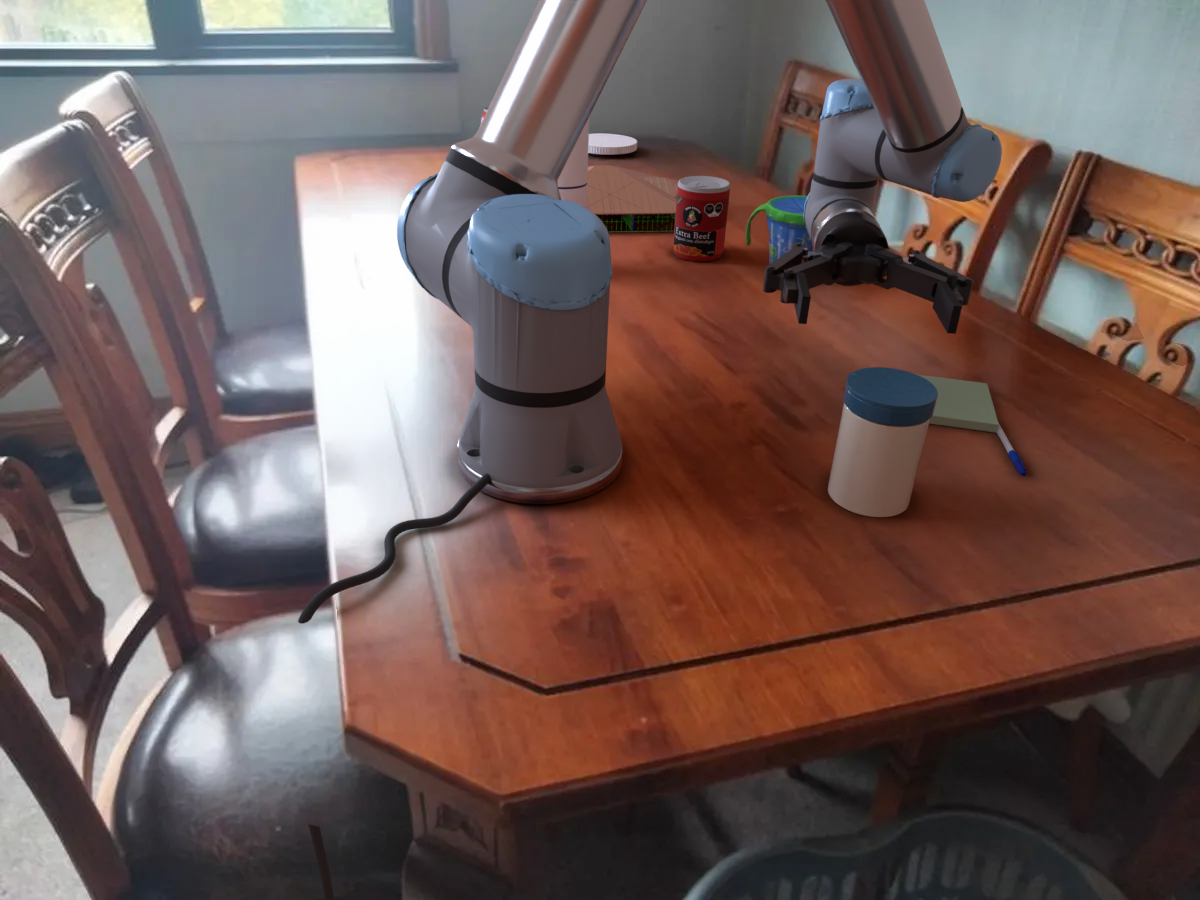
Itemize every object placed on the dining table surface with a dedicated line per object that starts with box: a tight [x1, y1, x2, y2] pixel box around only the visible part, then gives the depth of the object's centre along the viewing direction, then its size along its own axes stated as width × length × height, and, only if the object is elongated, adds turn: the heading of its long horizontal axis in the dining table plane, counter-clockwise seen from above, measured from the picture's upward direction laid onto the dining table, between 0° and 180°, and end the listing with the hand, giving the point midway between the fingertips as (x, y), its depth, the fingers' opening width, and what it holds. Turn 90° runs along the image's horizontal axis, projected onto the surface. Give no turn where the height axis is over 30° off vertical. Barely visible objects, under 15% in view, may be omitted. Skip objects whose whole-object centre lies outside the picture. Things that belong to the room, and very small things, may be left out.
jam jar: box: [827, 402, 930, 518], centre depth 79 cm, size 7×7×10 cm
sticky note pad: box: [915, 373, 1000, 434], centre depth 98 cm, size 10×10×1 cm
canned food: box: [672, 175, 731, 263], centre depth 137 cm, size 8×8×11 cm
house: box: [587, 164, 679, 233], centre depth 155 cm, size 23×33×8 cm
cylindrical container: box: [558, 117, 590, 209], centre depth 125 cm, size 7×7×25 cm
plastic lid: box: [588, 132, 638, 156], centre depth 198 cm, size 14×14×2 cm
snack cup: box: [745, 195, 815, 264], centre depth 131 cm, size 16×10×10 cm
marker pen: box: [996, 424, 1028, 477], centre depth 90 cm, size 10×1×1 cm, turn 175°
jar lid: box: [842, 366, 938, 426], centre depth 77 cm, size 8×8×2 cm
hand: (879, 315), depth 84 cm, fingers open, 13 cm apart
